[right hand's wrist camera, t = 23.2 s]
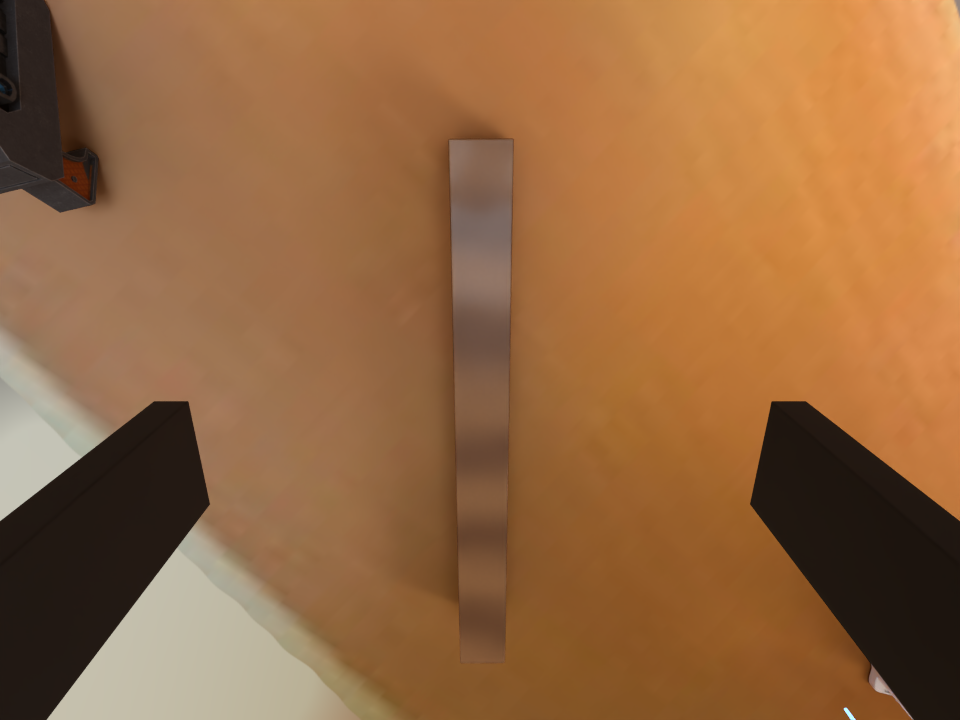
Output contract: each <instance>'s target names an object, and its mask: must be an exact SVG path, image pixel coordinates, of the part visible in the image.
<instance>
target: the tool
mask: <svg viewBox="0 0 960 720" xmlns="http://www.w3.org/2000/svg"><path fill="white" fill-rule="evenodd" d="M97 173H98V157H97V155H95V154H94V153H93V152H91V151H90V150H89V149H87V148H83V149H79V150H74V151H70V152H66V153H65V152H63V151H62V145H61V134H60V123H59V112H58V101H57V90H56V78H55V67H54V56H53V45H52V34H51V23H50V11H49V9H48V7H47V5H46V4H45V2H44V0H0V194H1V193H5V192H9V191H13V190H18V189H23V190H25V191H26V192H28V193H30V194H31V195H33V196H34V197H36V198H38V199H39V200H41V201H42V202H44V203H46V204H47V205H49V206H50V207H52V208H54V209H55V210H57V211H59V212H64V211H68V210H73V209H77V208H81V207H85V206H90V205H93V204H95V203H96V188H97Z"/></svg>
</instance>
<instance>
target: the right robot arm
mask: <svg viewBox="0 0 960 720" xmlns="http://www.w3.org/2000/svg"><path fill="white" fill-rule="evenodd" d="M209 505H210V503H209V498H208V493H207V488H206V483H205V479H204V474H203V469H202V464H201V460H200V455H199V450H198V445H197V441H196V436H195V431H194V426H193V422H192V417H191V412H190V407H189V403H188V401H154V402H153V403H152V404H150V405H149V406H148V407H146V408H145V409H144V410H143V411H141V412H140V413H139V414H137V415H136V416H135V417H134V418H132V419H131V420H130V421H128V422H127V423H126V424H125V425H123V426H122V427H121V428H119V429H118V430H117V431H116V432H114V433H113V434H112V435H110V436H109V437H108V438H107V439H105V440H104V441H103V442H101V443H100V444H99V445H98V446H96V447H95V448H94V449H92V450H91V451H90V452H89V453H87V454H86V455H85V456H83V457H82V458H81V459H80V460H78V461H77V462H76V463H74V464H73V465H72V466H71V467H69V468H68V469H67V470H65V471H64V472H63V473H62V474H60V475H59V476H58V477H56V478H55V479H54V480H53V481H51V482H50V483H49V484H47V485H46V486H45V487H44V488H42V489H41V490H40V491H39V492H37V493H36V494H35V495H33V496H32V497H31V498H30V499H28V500H27V501H26V502H24V503H23V504H22V505H20V506H19V507H18V508H17V509H15V510H14V511H13V512H11V513H10V514H9V515H8V516H6V517H5V518H4V519H2V520H1V521H0V720H47V718H48V717H49V716H50V714H51V713H52V712H53V711H54V709H55V708H56V707H57V705H58V704H59V703H60V701H61V700H62V699H63V697H64V696H65V695H66V693H67V692H68V691H69V689H70V688H71V687H72V685H73V684H74V683H75V681H76V680H77V679H78V678H79V676H80V675H81V674H82V672H83V671H84V670H85V668H86V667H87V666H88V664H89V663H90V662H91V660H92V659H93V658H94V656H95V655H96V654H97V652H98V651H99V650H100V648H101V647H102V646H103V645H104V643H105V642H106V641H107V639H108V638H109V637H110V635H111V634H112V633H113V631H114V630H115V629H116V627H117V626H118V625H119V623H120V622H121V621H122V619H123V618H124V617H125V615H126V614H127V613H128V612H129V610H130V609H131V608H132V606H133V605H134V604H135V602H136V601H137V600H138V598H139V597H140V596H141V594H142V593H143V592H144V590H145V589H146V588H147V586H148V585H149V584H150V582H151V581H152V580H153V579H154V577H155V576H156V575H157V573H158V572H159V571H160V569H161V568H162V567H163V565H164V564H165V563H166V561H167V560H168V559H169V558H170V556H171V555H172V554H173V552H174V551H175V549H176V548H177V547H178V546H179V544H180V543H181V542H182V540H183V539H184V538H185V536H186V535H187V534H188V532H189V531H190V530H191V528H192V527H193V526H194V525H195V523H196V522H197V521H198V519H199V518H200V517H201V515H202V514H203V513H204V511H205V510H206V509H207V507H208V506H209ZM750 505H751V506H752V507H753V509H754V510H755V511H756V513H757V514H758V515H759V517H760V518H761V519H762V521H763V522H764V523H765V525H766V526H767V527H768V528H769V530H770V531H771V532H772V534H773V535H774V536H775V538H776V539H777V540H778V542H779V543H780V544H781V546H782V547H783V548H784V550H785V551H786V552H787V554H788V555H789V556H790V558H791V559H792V560H793V561H794V563H795V564H796V565H797V567H798V568H799V569H800V571H801V572H802V573H803V575H804V576H805V577H806V579H807V580H808V581H809V583H810V584H811V585H812V587H813V588H814V589H815V590H816V592H817V593H818V594H819V596H820V597H821V598H822V600H823V601H824V602H825V604H826V605H827V606H828V608H829V609H830V610H831V612H832V613H833V614H834V616H835V617H836V618H837V620H838V621H839V622H840V623H841V625H842V626H843V627H844V629H845V630H846V631H847V633H848V634H849V635H850V637H851V638H852V639H853V641H854V642H855V643H856V645H857V646H858V647H859V649H860V650H861V651H862V652H863V654H864V655H865V656H866V658H867V659H868V660H869V662H870V663H871V664H872V666H873V667H874V668H875V670H876V671H877V672H878V674H879V675H880V676H881V678H882V679H883V680H884V681H885V683H886V684H887V685H888V687H889V688H890V689H891V691H892V692H893V693H894V695H895V696H896V697H897V699H898V700H899V701H900V703H901V704H902V705H903V707H904V708H905V709H906V711H907V712H908V713H909V714H910V716H911V717H912V718H913V720H960V521H959V520H958V519H956V518H955V517H954V516H952V515H951V514H950V513H949V512H947V511H946V510H945V509H943V508H942V507H941V506H940V505H938V504H937V503H936V502H934V501H933V500H932V499H931V498H929V497H928V496H927V495H925V494H924V493H923V492H922V491H920V490H919V489H918V488H916V487H915V486H914V485H913V484H911V483H910V482H909V481H907V480H906V479H905V478H904V477H902V476H901V475H900V474H898V473H897V472H896V471H895V470H893V469H892V468H891V467H889V466H888V465H887V464H886V463H884V462H883V461H882V460H880V459H879V458H878V457H877V456H875V455H874V454H873V453H871V452H870V451H869V450H868V449H866V448H865V447H864V446H862V445H861V444H860V443H859V442H857V441H856V440H855V439H853V438H852V437H851V436H850V435H848V434H847V433H846V432H844V431H843V430H842V429H841V428H839V427H838V426H837V425H835V424H834V423H833V422H832V421H830V420H829V419H828V418H826V417H825V416H824V415H823V414H821V413H820V412H819V411H817V410H816V409H815V408H814V407H812V406H811V405H810V404H808V403H807V402H806V401H772V403H771V407H770V412H769V417H768V422H767V426H766V431H765V436H764V441H763V445H762V450H761V455H760V460H759V464H758V469H757V474H756V479H755V483H754V488H753V493H752V498H751V503H750Z"/></svg>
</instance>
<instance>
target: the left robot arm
mask: <svg viewBox="0 0 960 720" xmlns="http://www.w3.org/2000/svg"><path fill="white" fill-rule="evenodd" d="M871 666H872V664H871ZM869 684H870V685H871V686H872V687H873V688H874V689H875V690H876V691H877V692H880V693H884V694H888V695H891V696H893V697H894V698H895V699H896V701H897V702H898V703H899V704H900V705H901V707H902V708H903V709H904V710H905V711H906V709H905V708H904V707H903V705H902V704H901V703H900V701H899V700H898V699H897V697H896V696H895V695H894V693H893V692H892V691H891V689H890V688H889V687H888V685H887V684H886V683H885V681H884V680H883V679H882V678H881V676H880V675H879V674H878V672H877V671H876V670H875V668H874V667H873V666H872V669H871V672H870V676H869ZM844 710H845V711H846V713H847V714H848V716H849V717H850V719H851V720H855V719H854V717H853V716H852V715H851V713H850V712H849V711H848V709H847V708H844ZM906 713H907V714H908V715H909V716H910V714H909V713H908V712H907V711H906ZM910 717H911V716H910ZM911 718H912V717H911ZM912 720H913V718H912Z"/></svg>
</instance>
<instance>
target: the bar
mask: <svg viewBox="0 0 960 720" xmlns="http://www.w3.org/2000/svg"><path fill="white" fill-rule="evenodd" d="M448 143H449V187H450V231H451V275H452V319H453V362H454V406H455V450H456V494H457V538H458V582H459V626H460V663H505V623H506V564H507V505H508V446H509V387H510V328H511V269H512V210H513V151H514V140H513V139H449V140H448Z"/></svg>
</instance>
